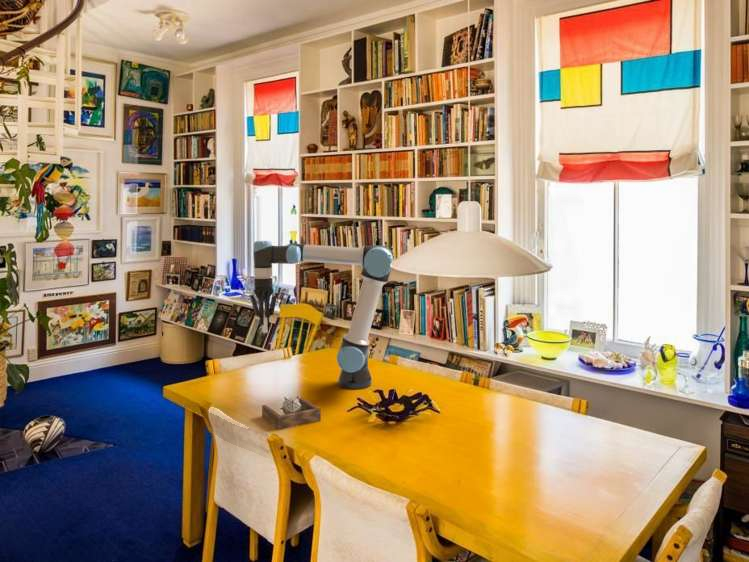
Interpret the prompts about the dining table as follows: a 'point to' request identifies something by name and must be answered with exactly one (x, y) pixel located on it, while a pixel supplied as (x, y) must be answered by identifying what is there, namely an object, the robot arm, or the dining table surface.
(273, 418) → the shallow brown tray
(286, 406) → the grey spiked ball
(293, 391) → the dining table surface
